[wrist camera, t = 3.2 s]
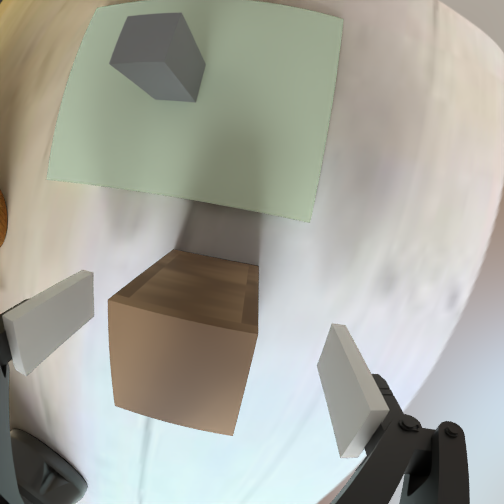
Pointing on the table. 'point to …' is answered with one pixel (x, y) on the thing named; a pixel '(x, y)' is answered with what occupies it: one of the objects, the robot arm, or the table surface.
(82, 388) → the table surface
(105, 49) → the post board
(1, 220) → the disposable coffee cup
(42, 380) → the table surface
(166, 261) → the box
